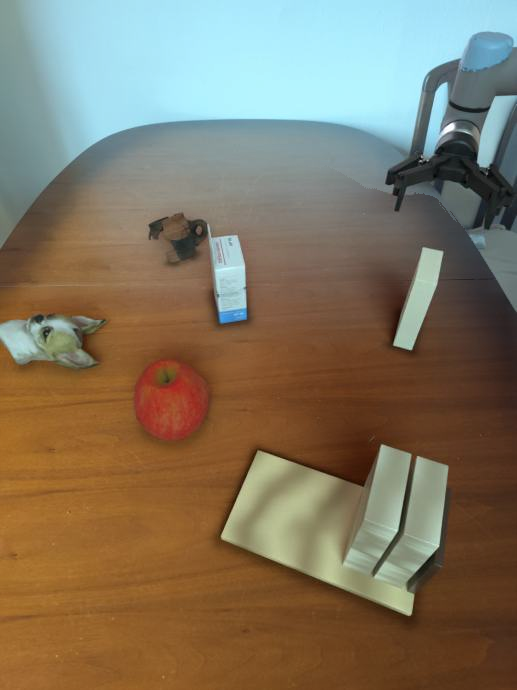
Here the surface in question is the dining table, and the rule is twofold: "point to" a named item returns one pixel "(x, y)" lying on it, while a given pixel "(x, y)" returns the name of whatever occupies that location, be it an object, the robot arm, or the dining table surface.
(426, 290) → the cream book
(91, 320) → the ceramic sculpture
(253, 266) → the dining table surface
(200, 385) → the apple
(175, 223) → the pottery mug
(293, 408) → the dining table surface
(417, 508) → the book rack
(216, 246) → the ink box
